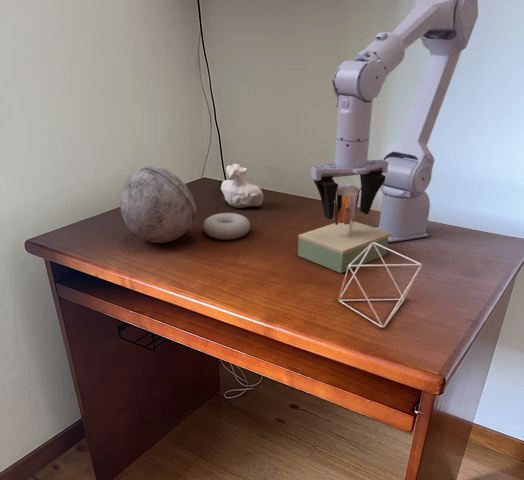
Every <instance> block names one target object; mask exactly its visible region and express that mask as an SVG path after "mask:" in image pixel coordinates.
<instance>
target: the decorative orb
mask: <svg viewBox="0 0 524 480" xmlns="http://www.w3.org/2000/svg"><path fill="white" fill-rule="evenodd" d="M196 206H197V205H196V204H195V199H194V196H193V193H192V191H191V190H190V189H189V187H188V186H187V184H185V182H184V181H183V180H182V179H181V178H180V177H179V176H177V175H176V174H174V173H173V172H172V171H171V170H168V169H167V168H164V167H156V166H154V165H153V166H152V165H148V166H144V167H142V168H140V170H138V171H136V172H134V173H133V174H132V175H131V176H130V177H129V178H128V179H127V180H126V182H125V184H124V185H123V187H122V190H121V194H120V199H119V209H120V213H121V216H122V218H123V221H124V223H125V224H126V227H128V229H129V230H130V231H131V232H132V233H133V234H134V235H136V236H137V237H138V238H140V239H142V240H144V241H146V242H149V243H155V244H166V243H169V242H173V241H175V240H177V239H179V238H181V237H182V236H183V235H184V234H185V233H186V232H187V231H188V230H189V229H190V227H191V226H192V223H193V220H194V219H195V218H196V213H197V207H196Z"/></svg>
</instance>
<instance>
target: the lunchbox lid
mask: <svg viewBox="0 0 524 480" xmlns="http://www.w3.org/2000/svg"><path fill="white" fill-rule="evenodd" d="M390 236H391V233H389V232H386V231H383V230H380V229H377V228H375V227H374V226H370V225H367V224H364V223H360V222H357V221H356V220H354V226H353V232H352V235H350V236H339V235H337V234H335V222H334V223H330V224H328V225H325V226H322V227H318V228H316V229H313V230H309V231H305V232H303V233H300V234H298V238H300V239H303V240H306V241H308V242H311V243H314V244H317V245H319V246H322V247H325V248H327V249H330V250H333V251H335V252H338V253H341V254H345V253H347V252H350V251H353V250H355V249H358V248H361V247H363V246H366V245H369V244H371V243H372V242H377V241H379V240H382V239H385V238H387V237H390Z"/></svg>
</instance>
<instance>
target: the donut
mask: <svg viewBox="0 0 524 480" xmlns="http://www.w3.org/2000/svg"><path fill="white" fill-rule="evenodd" d="M202 228H203V231H204V233H205V234H206V235H207V236H208V237H210V238H213V239H215V240H224V241H225V240H226V241H227V240H236V239H239V238H241V237H244V236H245V235H247V234H248V233H249V231H250V228H251V222H250V221H249V219H248V218H247V217H246V216H244V215H242V214H239V213H235V212H234V213H233V212H221V213H216V214H212V215H210V216H208V217H207V218H205V220H204V222H203V226H202Z"/></svg>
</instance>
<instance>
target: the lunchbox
mask: <svg viewBox="0 0 524 480" xmlns="http://www.w3.org/2000/svg"><path fill="white" fill-rule="evenodd" d="M297 242H298V243H297V256H298V257H300V258H303V259H305V260H307V261H310V262H313V263H315V264H317V265H319V266H322V267H325V268H328V269H329V270H332V271H334V272H336V273H337V272H338V273H339V274H342V273H346V271H347V267H348V265H349V264H350V263H351V262H352V261H353V260H354V259H355V258H356V257H357V256H358V255H359V254H360V253H362V252H363V251H364V250H365V249H366V248H367V247H368V246H369V245H370V244H369V245H366V246H363V247H361V248H358V249H355V250H353V251H350V252H347V253H345V254H341V253H338V252H335V251H333V250H330V249H327V248H325V247H322V246H319V245H317V244H314V243H311V242H308V241H306V240H303V239H300V238H298V241H297ZM375 243H377V244H379V245H382V246H384V247H386V248H388V247H389V246H388V245H389V242H388V237H387V238H385V239H382V240H379V241H377V242H375ZM375 245H376V244H375ZM376 247H377V249H378V251H379V253H380V254H381V256H382V257H384V256H387V253H388V250H387V249H385V248H383V247H380V246H378V245H376ZM368 249H369V248H368ZM368 249H367V250H368ZM367 250H366V251H365V252H364V253H363V254H362V255H361V256H360V257H359V258H358V259H357V260H355V261H354V262H353V263H352V264H351V265H359V264H360V262H361V260H362V259H363V257H364V255H365V254H366V252H367ZM379 258H380V256H379V254H378V252H377V250H376V249H375V247H374V245H372V247H371V248H370V250H369V252H368V254H367V255H366V257H365V259H364V260H363V262H362V264H361V265H366V264H368V263H370V262H373V261H375V260H377V259H379ZM354 268H356V267H351V269H352V270H353V269H354ZM348 271H350V269H349V270H348Z"/></svg>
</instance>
